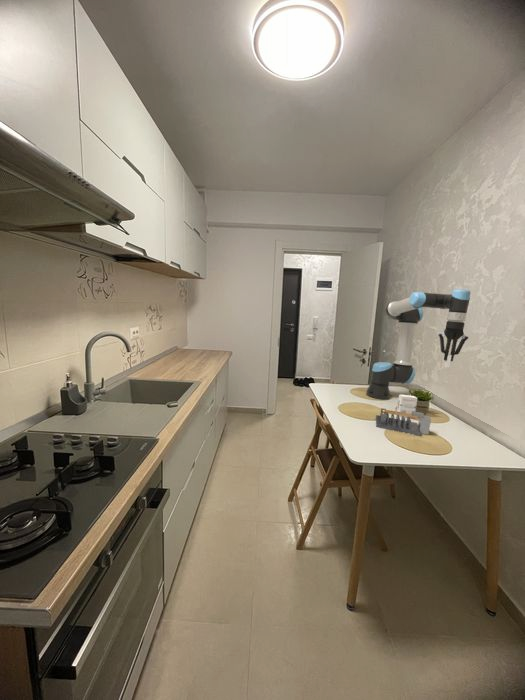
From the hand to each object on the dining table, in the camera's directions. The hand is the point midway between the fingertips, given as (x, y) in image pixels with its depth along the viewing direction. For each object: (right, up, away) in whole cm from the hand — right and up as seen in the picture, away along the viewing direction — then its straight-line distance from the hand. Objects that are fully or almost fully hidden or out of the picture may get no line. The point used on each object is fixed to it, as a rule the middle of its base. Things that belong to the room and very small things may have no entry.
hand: (446, 367), depth 145 cm
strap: (-25, -25, -1) cm, 35 cm away
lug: (-16, -32, -3) cm, 36 cm away
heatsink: (-26, -31, 0) cm, 40 cm away
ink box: (-13, -29, +17) cm, 36 cm away
